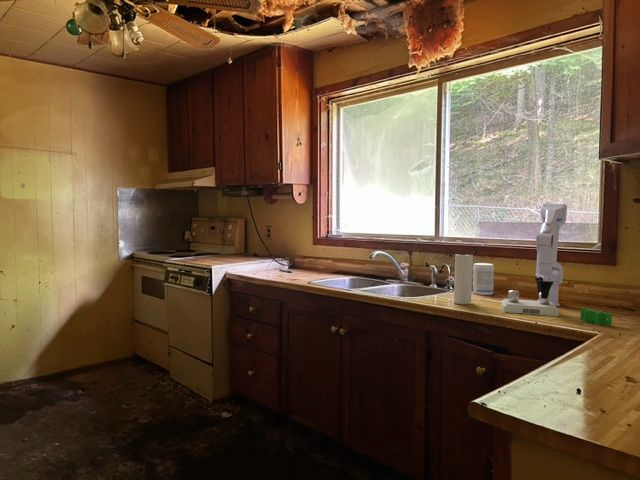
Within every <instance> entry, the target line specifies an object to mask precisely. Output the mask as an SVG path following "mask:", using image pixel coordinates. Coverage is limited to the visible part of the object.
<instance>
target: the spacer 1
mask: <svg viewBox="0 0 640 480" xmlns="http://www.w3.org/2000/svg"><path fill="white" fill-rule="evenodd" d="M507 293H508V294H507V299H508V302H512V303H518V301H519V300H520V291H519V290H514V289H510V290H508V292H507Z"/></svg>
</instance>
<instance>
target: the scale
mask: <svg viewBox="0 0 640 480" xmlns="http://www.w3.org/2000/svg"><path fill="white" fill-rule="evenodd" d="M500 304H501V310H502V311H503V313H506V312H508V313H509V314H519V313H522V314H521V315H532V314H534V316H545V317H547V316H548V317H557V316H559V317H560V309H559V308H558V306H555V305H554V304H553V303H552V302H550V305H542V304H539V301H537V300H532V299H519V301H518V303H512V302H508V298H504V299H501V303H500ZM508 313H507V314H508Z"/></svg>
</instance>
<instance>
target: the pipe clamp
mask: <svg viewBox="0 0 640 480" xmlns="http://www.w3.org/2000/svg"><path fill="white" fill-rule="evenodd" d="M581 319H582V321H583V323H592V324H594V325H595V326H599V325H603V326H607V327H612V326H613V325H612V324H613V313H608V312H604V311H599V310H593V309H590V308H586V307H581V308H580V320H581Z"/></svg>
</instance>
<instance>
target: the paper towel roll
mask: <svg viewBox="0 0 640 480" xmlns="http://www.w3.org/2000/svg"><path fill="white" fill-rule="evenodd" d="M454 259H455V260H454V285H453V288H454V289H453V303H454V304H457V305H469V304H470V303H472V293H473V266H474V262H473V261H474V254H465V253H459V254H458V253H457V254H456V253H455V257H454Z"/></svg>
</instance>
